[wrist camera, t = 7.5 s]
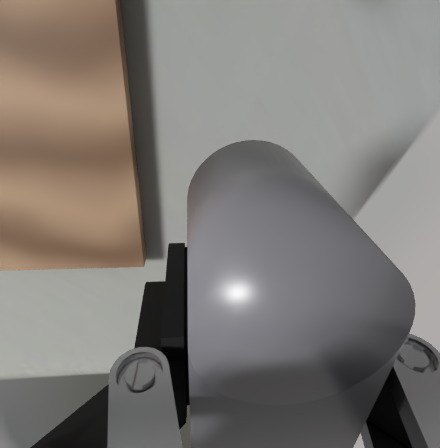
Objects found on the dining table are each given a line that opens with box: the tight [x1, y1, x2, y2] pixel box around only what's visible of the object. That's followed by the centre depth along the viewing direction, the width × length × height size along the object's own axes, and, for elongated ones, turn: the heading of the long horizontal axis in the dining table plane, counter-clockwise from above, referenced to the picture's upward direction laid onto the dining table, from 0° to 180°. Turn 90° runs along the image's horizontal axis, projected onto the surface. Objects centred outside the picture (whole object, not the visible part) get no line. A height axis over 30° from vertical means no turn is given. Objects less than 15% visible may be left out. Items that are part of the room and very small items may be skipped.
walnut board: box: [0, 0, 146, 270], centre depth 21 cm, size 20×12×2 cm, turn 178°
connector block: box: [187, 140, 415, 448], centre depth 10 cm, size 12×4×6 cm, turn 178°
